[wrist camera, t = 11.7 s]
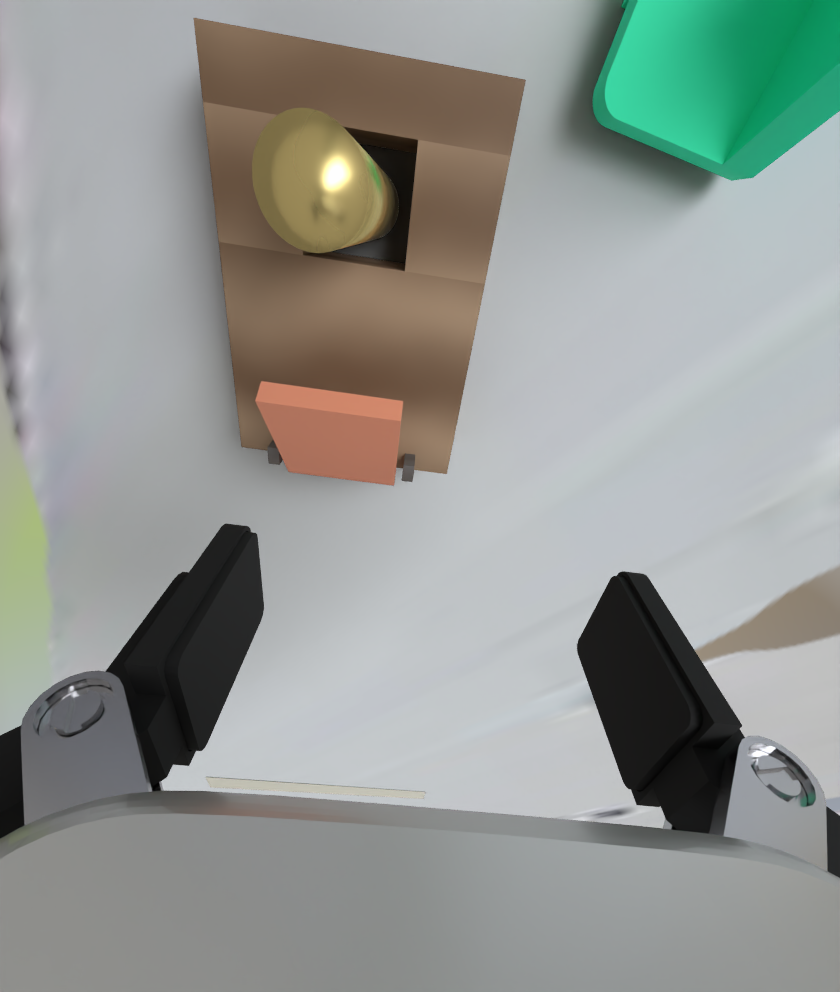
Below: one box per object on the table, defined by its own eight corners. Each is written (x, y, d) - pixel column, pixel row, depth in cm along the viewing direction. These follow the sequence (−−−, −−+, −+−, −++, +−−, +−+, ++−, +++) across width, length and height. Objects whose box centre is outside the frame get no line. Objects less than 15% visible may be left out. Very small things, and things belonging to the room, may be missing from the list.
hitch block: (238, 56, 18) (172, -1, 13) (508, 105, 19) (533, 68, 14) (264, 419, 27) (231, 458, 23) (444, 444, 28) (447, 486, 23)
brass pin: (340, 161, 20) (246, 97, 10) (402, 172, 20) (372, 119, 10) (338, 234, 21) (256, 243, 11) (395, 243, 22) (365, 260, 12)
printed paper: (425, 789, 57) (425, 801, 56) (408, 858, 74) (408, 869, 73) (206, 774, 56) (201, 786, 55) (240, 848, 73) (237, 858, 72)
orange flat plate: (260, 380, 17) (254, 401, 17) (403, 401, 18) (400, 421, 17) (292, 456, 24) (288, 472, 23) (396, 469, 24) (393, 485, 24)
